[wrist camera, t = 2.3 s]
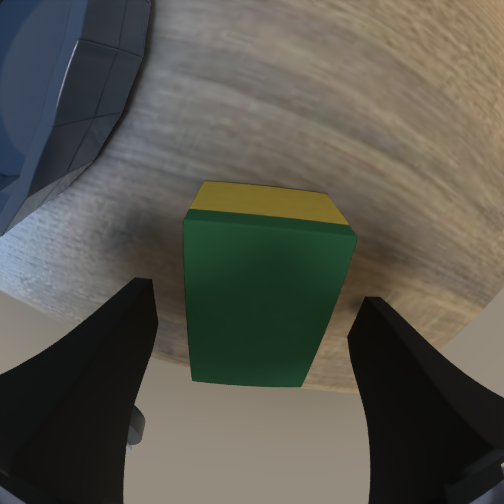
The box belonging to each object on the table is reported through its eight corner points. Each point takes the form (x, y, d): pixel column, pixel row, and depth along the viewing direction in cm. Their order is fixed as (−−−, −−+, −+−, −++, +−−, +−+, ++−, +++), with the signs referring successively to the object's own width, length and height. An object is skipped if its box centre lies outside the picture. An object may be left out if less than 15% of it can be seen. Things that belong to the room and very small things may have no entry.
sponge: (293, 329, 13) (301, 387, 10) (201, 322, 13) (191, 381, 10) (327, 193, 10) (359, 237, 7) (204, 180, 10) (182, 219, 7)
